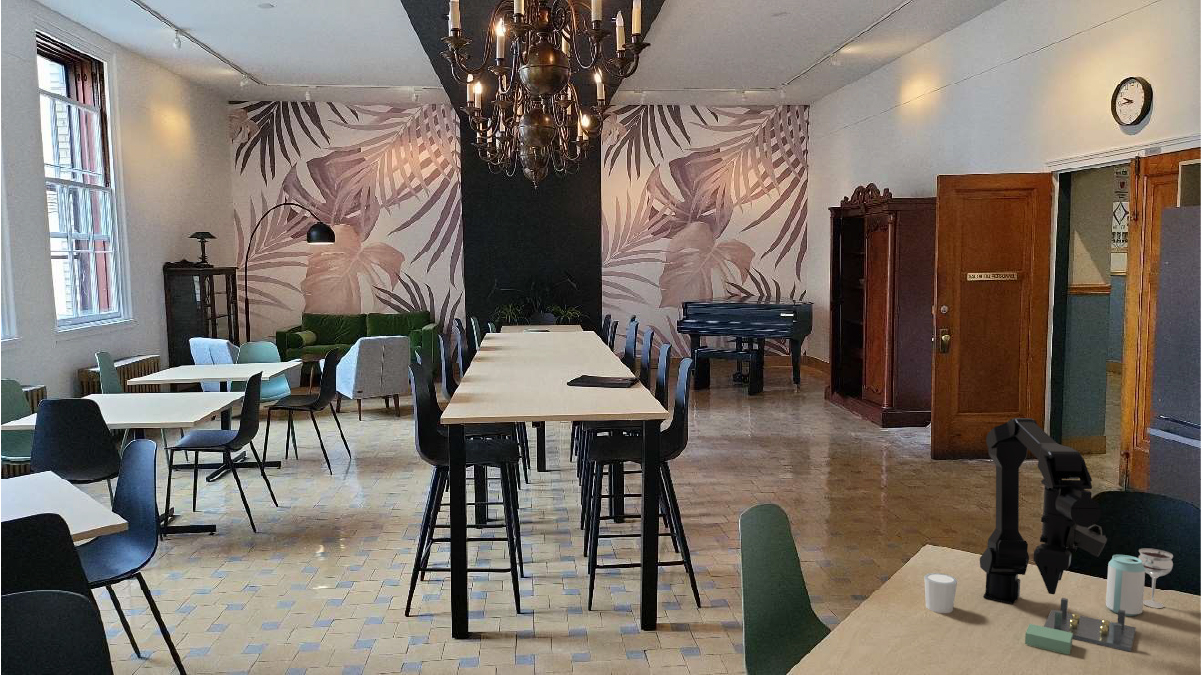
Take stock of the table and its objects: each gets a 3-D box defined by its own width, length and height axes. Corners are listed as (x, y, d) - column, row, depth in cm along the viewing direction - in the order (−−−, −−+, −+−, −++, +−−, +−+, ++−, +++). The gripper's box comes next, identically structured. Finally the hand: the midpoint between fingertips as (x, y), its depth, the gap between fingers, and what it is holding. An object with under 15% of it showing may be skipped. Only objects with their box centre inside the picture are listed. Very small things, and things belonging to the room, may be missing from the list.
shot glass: (922, 611, 195) (923, 581, 194) (923, 600, 201) (924, 570, 201) (955, 616, 193) (957, 585, 192) (955, 604, 199) (957, 575, 198)
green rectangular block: (1024, 646, 179) (1025, 633, 179) (1028, 636, 183) (1029, 623, 183) (1069, 656, 174) (1069, 642, 174) (1071, 646, 179) (1072, 633, 179)
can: (1115, 602, 201) (1119, 551, 200) (1148, 612, 195) (1151, 560, 194) (1099, 608, 197) (1102, 557, 196) (1132, 619, 191) (1135, 566, 190)
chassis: (1042, 631, 185) (1043, 611, 184) (1051, 612, 195) (1052, 593, 194) (1130, 651, 176) (1132, 630, 175) (1135, 631, 186) (1136, 611, 185)
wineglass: (1170, 612, 195) (1174, 560, 194) (1135, 606, 199) (1138, 554, 198) (1169, 602, 201) (1173, 551, 200) (1134, 596, 204) (1138, 546, 203)
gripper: (1100, 530, 164) (1095, 611, 166) (1109, 507, 180) (1104, 581, 181) (1035, 520, 170) (1030, 598, 172) (1048, 498, 186) (1044, 570, 187)
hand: (1054, 586), depth 178 cm, fingers open, 9 cm apart
